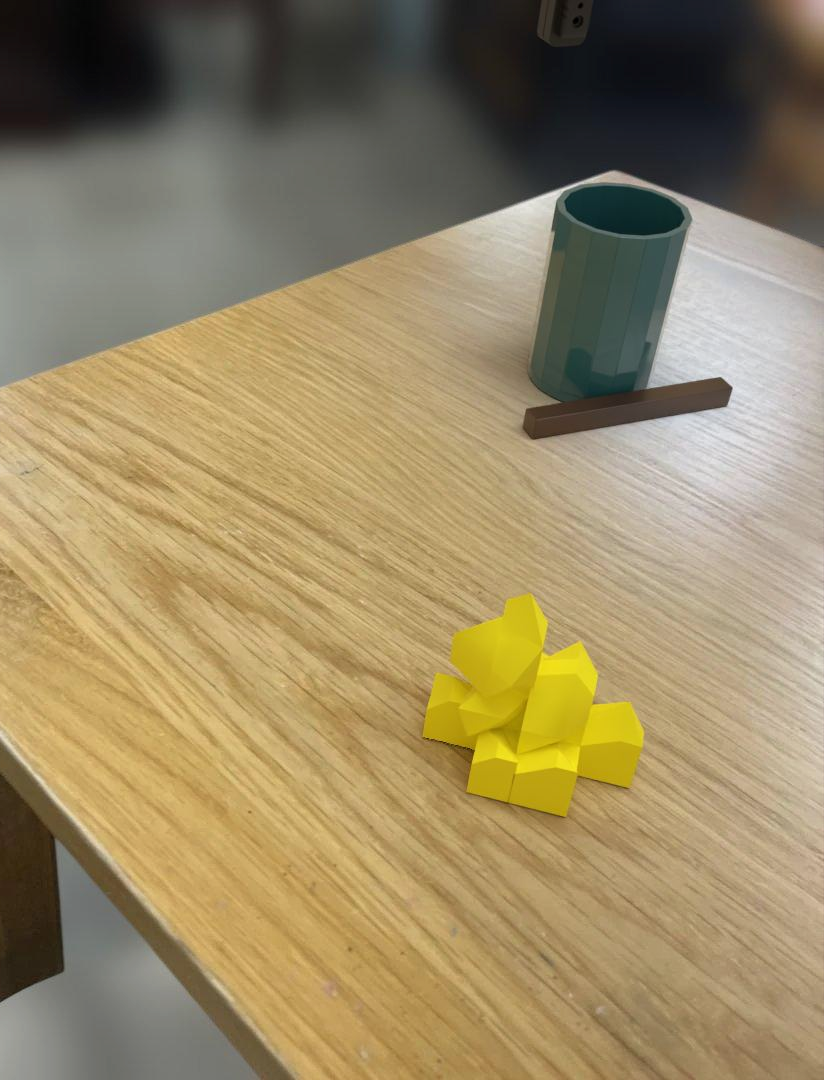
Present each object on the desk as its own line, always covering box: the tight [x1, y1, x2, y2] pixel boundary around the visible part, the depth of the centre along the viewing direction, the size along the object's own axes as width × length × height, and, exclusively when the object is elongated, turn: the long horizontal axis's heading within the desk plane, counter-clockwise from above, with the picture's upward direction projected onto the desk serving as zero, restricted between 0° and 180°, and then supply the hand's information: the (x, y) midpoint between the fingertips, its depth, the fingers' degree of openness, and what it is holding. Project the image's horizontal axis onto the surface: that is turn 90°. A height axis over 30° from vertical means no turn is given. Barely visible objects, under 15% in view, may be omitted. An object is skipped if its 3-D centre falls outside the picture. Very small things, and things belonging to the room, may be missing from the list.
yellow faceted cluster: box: [422, 592, 645, 818], centre depth 45 cm, size 6×8×8 cm
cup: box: [527, 181, 694, 403], centre depth 66 cm, size 7×7×10 cm
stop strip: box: [522, 376, 734, 440], centre depth 66 cm, size 12×1×1 cm, turn 108°
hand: (559, 41), depth 66 cm, fingers closed
